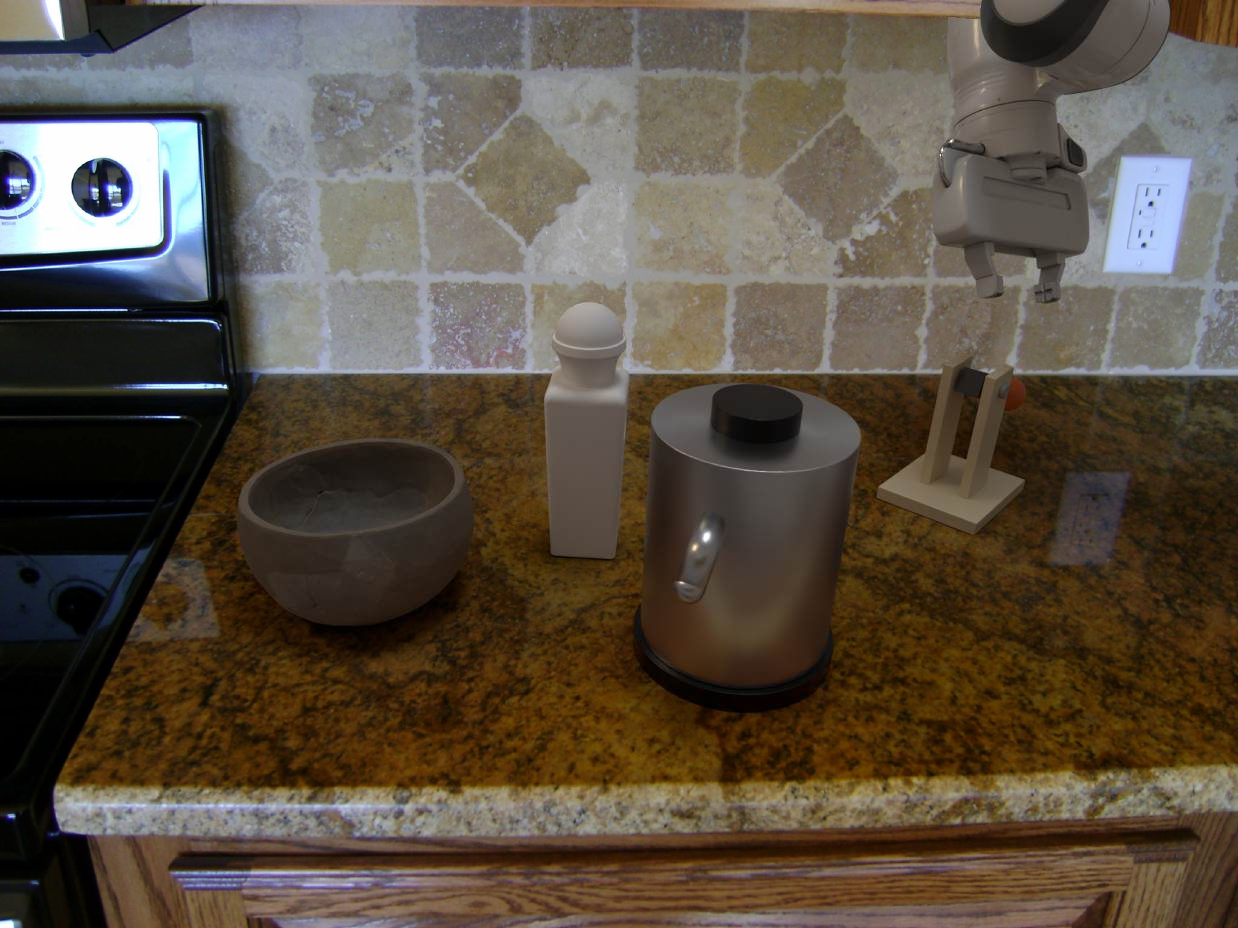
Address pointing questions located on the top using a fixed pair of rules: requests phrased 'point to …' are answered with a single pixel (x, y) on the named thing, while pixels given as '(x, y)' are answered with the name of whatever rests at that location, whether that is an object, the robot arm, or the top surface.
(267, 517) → the bowl
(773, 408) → the kettle
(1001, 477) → the stand
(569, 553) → the white square bottle
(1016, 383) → the lever
